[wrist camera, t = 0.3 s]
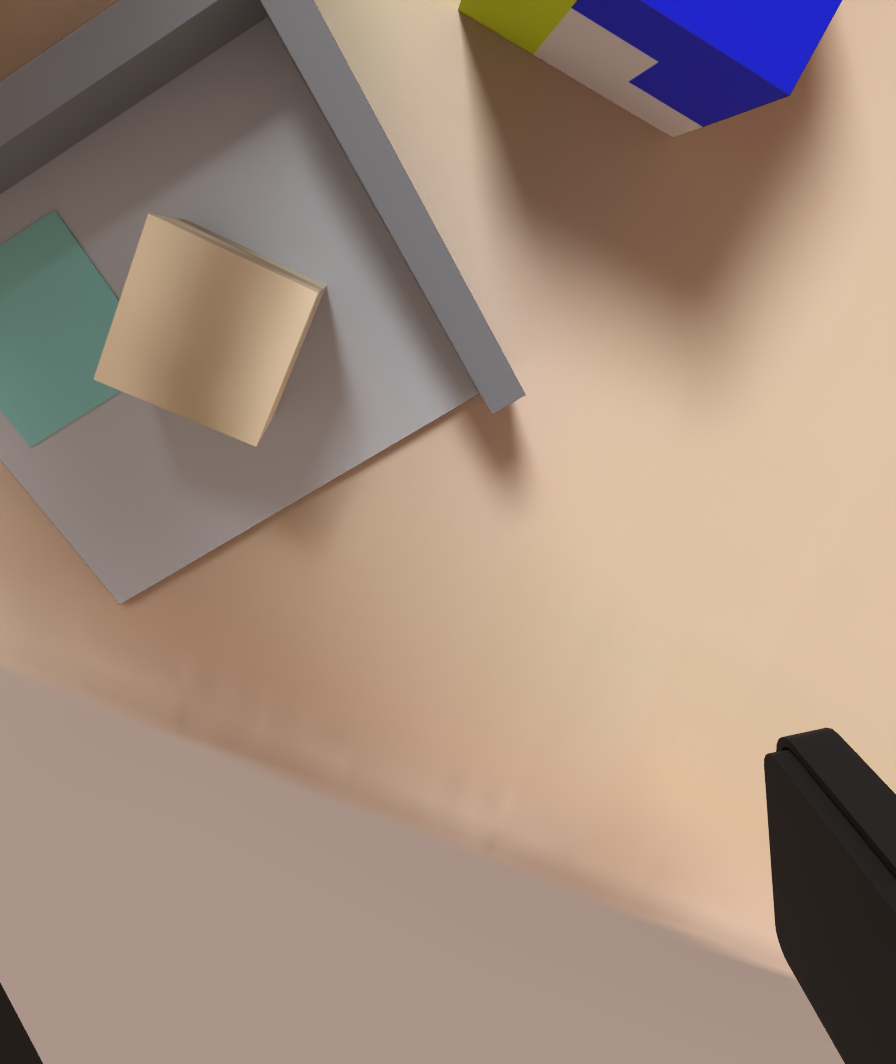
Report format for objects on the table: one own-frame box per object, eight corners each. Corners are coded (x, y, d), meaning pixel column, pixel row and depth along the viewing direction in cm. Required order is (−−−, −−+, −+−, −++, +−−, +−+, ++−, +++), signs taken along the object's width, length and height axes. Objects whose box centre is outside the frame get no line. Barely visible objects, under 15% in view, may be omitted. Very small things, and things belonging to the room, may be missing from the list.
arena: (-162, 253, 32) (-256, 255, 27) (279, -43, 29) (261, -97, 25) (123, 600, 38) (86, 650, 33) (506, 375, 36) (525, 395, 31)
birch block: (139, 357, 33) (93, 379, 28) (187, 220, 32) (148, 213, 26) (274, 415, 35) (256, 446, 29) (326, 285, 33) (317, 293, 27)
